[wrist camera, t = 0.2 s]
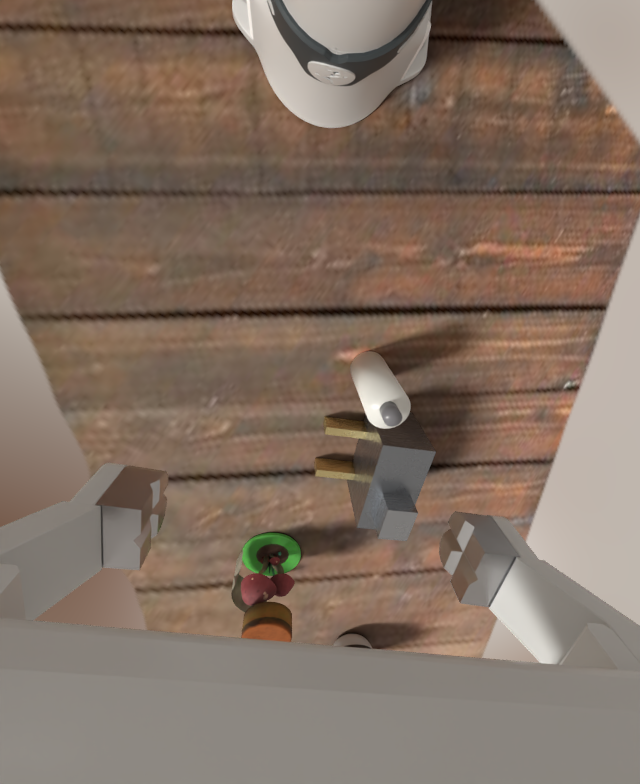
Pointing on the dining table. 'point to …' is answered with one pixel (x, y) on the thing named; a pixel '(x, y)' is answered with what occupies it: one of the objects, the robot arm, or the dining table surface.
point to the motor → (381, 473)
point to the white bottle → (379, 391)
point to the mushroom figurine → (266, 586)
